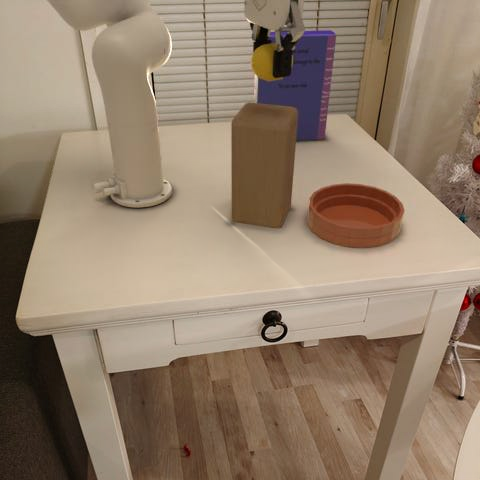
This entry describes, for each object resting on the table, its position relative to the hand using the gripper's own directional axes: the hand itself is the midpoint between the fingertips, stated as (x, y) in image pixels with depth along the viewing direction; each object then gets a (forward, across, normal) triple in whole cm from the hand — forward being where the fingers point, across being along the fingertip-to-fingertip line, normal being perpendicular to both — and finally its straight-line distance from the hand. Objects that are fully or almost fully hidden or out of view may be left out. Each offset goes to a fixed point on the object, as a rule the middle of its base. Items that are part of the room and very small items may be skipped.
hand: (271, 70), depth 88 cm
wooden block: (+27, 0, 0) cm, 27 cm away
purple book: (+27, -30, +27) cm, 49 cm away
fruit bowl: (+27, +12, +13) cm, 32 cm away
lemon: (+1, 0, 0) cm, 1 cm away
